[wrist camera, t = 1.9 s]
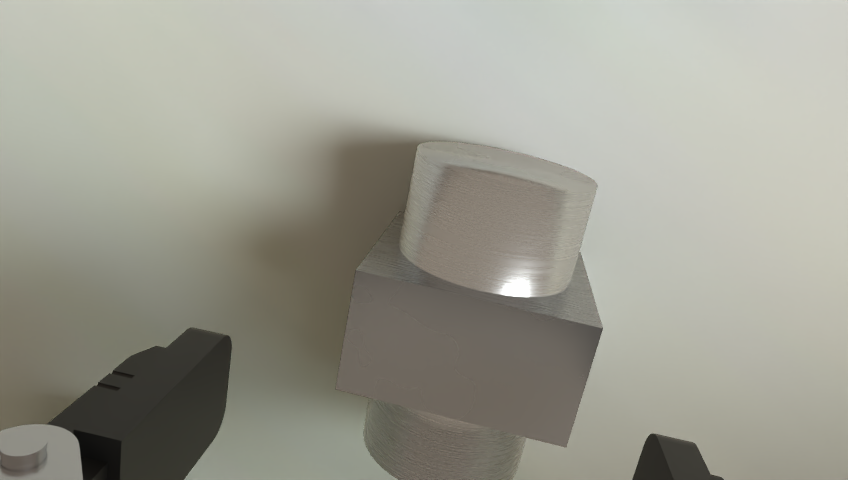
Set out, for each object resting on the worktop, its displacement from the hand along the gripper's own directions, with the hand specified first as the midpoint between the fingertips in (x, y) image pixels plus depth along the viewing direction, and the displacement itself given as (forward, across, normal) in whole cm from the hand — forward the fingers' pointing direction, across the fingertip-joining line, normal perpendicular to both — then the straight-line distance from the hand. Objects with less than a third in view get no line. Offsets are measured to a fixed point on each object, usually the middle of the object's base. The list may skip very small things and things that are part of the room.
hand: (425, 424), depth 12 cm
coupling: (+8, -1, 0) cm, 8 cm away
